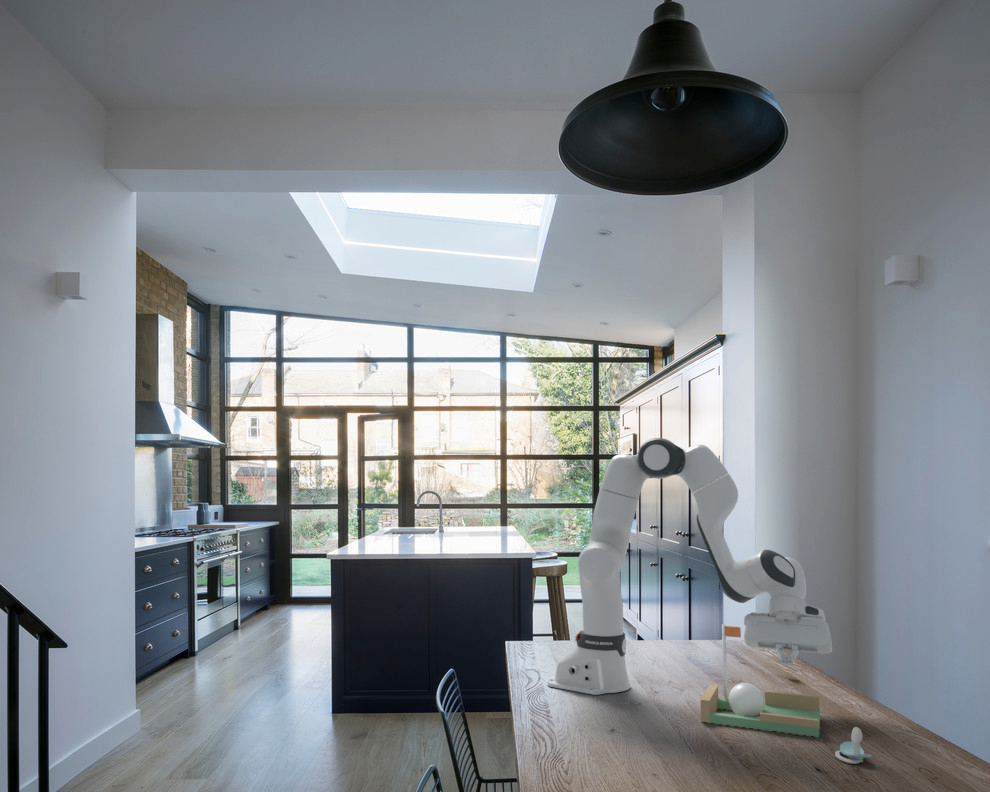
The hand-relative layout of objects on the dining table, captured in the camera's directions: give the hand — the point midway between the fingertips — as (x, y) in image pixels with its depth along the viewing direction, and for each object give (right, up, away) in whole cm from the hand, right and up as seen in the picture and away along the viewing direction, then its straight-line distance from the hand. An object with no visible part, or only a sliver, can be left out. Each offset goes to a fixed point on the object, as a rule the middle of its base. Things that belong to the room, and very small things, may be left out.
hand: (786, 663), depth 177 cm
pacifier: (+1, -9, -30) cm, 31 cm away
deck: (-8, -11, -6) cm, 15 cm away
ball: (-11, -7, -4) cm, 14 cm away
